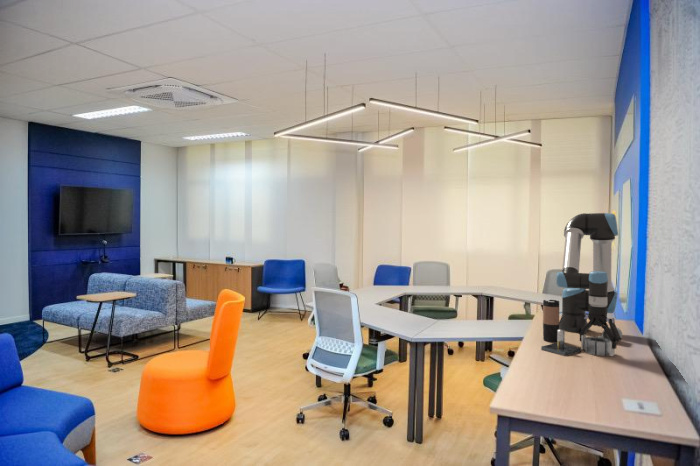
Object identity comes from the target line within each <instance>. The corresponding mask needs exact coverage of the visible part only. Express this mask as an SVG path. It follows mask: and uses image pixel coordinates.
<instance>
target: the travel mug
mask: <svg viewBox="0 0 700 466" xmlns="http://www.w3.org/2000/svg"><path fill="white" fill-rule="evenodd" d="M542 302H543V303H542V333H543V336H542V338H543V339H542V340H543V341H545V342H548V343H557V330H560V329H559V322H560V301H559V300H556V299H549V300H546V299H543V300H542Z"/></svg>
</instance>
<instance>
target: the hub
mask: <svg viewBox="0 0 700 466" xmlns="http://www.w3.org/2000/svg"><path fill="white" fill-rule="evenodd" d="M584 352H585V354H589V355H592V356H593V355H594V356H597V355H601V357H605V356H606V357H607V355H608V356H609V355H610V340H609V339H606V338H601V337H598V336H586V338H585V349H584Z"/></svg>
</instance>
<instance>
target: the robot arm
mask: <svg viewBox="0 0 700 466" xmlns="http://www.w3.org/2000/svg"><path fill="white" fill-rule="evenodd" d="M616 217H617V216H616V214H614V213H609V212H598V213H597V212H595V213H594V212H593V213H592V212H591V213H579V214H577V215H575V216H573V217H572V218H570V220H569V221H568V222H567V223H566V225H565V227H564V229H563V236H564V239H565V241H564V250H563V257H562V259H563V260H562V266H561V267H562V269H561V271H560V272H559V271H558V272H557V273H556V279H555V280H556V286H557V287H558V288H564V289H563V290H562V296H561V298H562V299H561V301H562V304H561V317H560V318H559V330H565V332H572V333H577V334H579V342H580V345H581V346H580V348H581V350H585V338H586V337H587V334H586V333H587V332H589V330H590V329H591V327H592V326H597V327H601V329H603V331H604V330H605V332H606V333H607V335H608V336H609V338H610V339H611V341H610V355H608V356H609V357H613V356H615V352H616V351H615V350H616V349H617V342H619V341H622V338H621V337H620V335H619V332H618V330H617V328H618V327H617V326H616V324H615V323H616V322H615V319H614V318H613V317H612V318H610V317H609V318H608V314H613V313H615V311H616V307H617V301H618V299H617V298H618V292H617V291H615V287H613V286H612V246H613V245H612V243H613V242H614V241H615V239H616V237H617V236H619V231H618V230H619V229H618V224H617V218H616ZM584 236H589V239H590V240H591V241H592V252H593V253H592V258H593V259H592V271H589V273H587V272H586V273H585V272H584V273H583V272H580V261H581V247H582V239H584ZM586 312H587V313H586ZM587 320H589V321H587ZM607 323H608V324H607ZM609 327H610V328H611V330H612V331H611V330H610V328H609ZM616 327H617V328H616ZM612 332H613V333H612Z"/></svg>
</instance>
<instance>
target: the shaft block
mask: <svg viewBox="0 0 700 466" xmlns="http://www.w3.org/2000/svg"><path fill="white" fill-rule="evenodd" d="M565 333H566V331H565V330H561V329H559V330H557V342H553V343H549V344H545V345H542V346H540V347H541V348H540V350H541V351H545V352H549V353H553V354H557V355H560V356H565V357H566V356H570V355H573V354H577V352H578V353H581V352H582V349H581V347H576V346H571V345H569V344H568V345H567V344H565Z"/></svg>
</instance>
